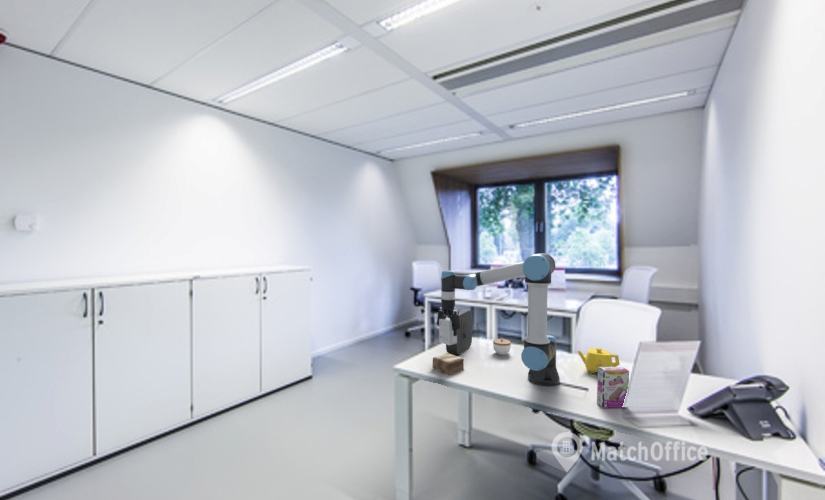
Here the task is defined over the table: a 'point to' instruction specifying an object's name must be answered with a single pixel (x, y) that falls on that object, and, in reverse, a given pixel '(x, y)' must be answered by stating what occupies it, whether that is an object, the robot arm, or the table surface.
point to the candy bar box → (612, 386)
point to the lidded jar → (501, 346)
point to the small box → (446, 331)
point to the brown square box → (448, 363)
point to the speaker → (462, 333)
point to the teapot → (598, 359)
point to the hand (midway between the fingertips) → (448, 339)
